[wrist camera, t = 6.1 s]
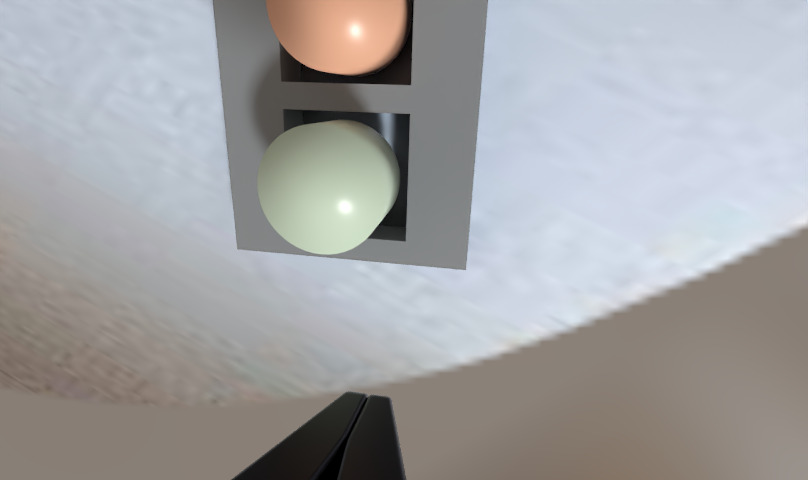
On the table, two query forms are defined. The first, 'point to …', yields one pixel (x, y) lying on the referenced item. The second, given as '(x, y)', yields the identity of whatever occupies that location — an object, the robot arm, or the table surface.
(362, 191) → the sage button
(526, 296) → the table surface
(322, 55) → the terracotta button
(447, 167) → the button panel
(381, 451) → the robot arm
